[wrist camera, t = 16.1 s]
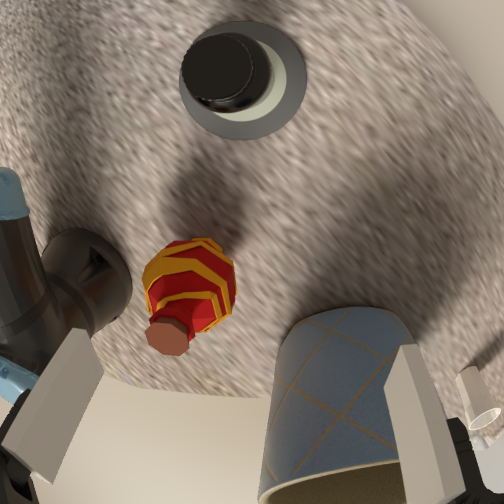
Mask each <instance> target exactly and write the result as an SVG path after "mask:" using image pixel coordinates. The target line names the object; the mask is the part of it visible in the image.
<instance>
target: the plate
mask: <svg viewBox="0 0 504 504" xmlns="http://www.w3.org/2000/svg"><path fill="white" fill-rule="evenodd" d="M226 31H232V32H239V33H242V34H245V35H248V36H250V37H251V38H253V39H255V40H256V41H257V42H258V43H259V44H260V45H261V46H262V47H263V48H264V49H265V51H266V52H267V54H268V56H269V59H270V61H271V63H272V66H273V69H274V74H275V81H274V86H273V89H272V91H271V93H270V94H269V96H268V97H267V98H266V99H265V100H264V101H263V102H262V103H261V104H259V105H257V106H255V107H253V108H250V109H247V110H244V111H240V112H236V113H216V112H212V111H209V110H207V109H205V108H203V107H201V106H200V105H199V104H197V103H196V102H195V101H194V100H193V99H192V98H191V96H190V95H189V93H188V91H187V89H186V87H185V84H184V82H183V77H182V71H181V69H180V76H179V88H180V94H181V97H182V100H183V103H184V105H185V107H186V109H187V111H188V112H189V114H190V115H191V116H192V118H193V119H194V120H195V121H196V122H197V123H198V124H199V125H200V126H202V127H203V128H205V129H206V130H207V131H209V132H211V133H213V134H215V135H218V136H220V137H223V138H228V139H234V140H250V139H256V138H260V137H264V136H266V135H269V134H271V133H273V132H275V131H277V130H278V129H280V128H281V127H283V126H284V125H285V124H286V123H287V122H288V121H289V120H290V119H291V118H292V117H293V116H294V115H295V113H296V112H297V110H298V109H299V107H300V105H301V103H302V101H303V98H304V94H305V90H306V69H305V65H304V62H303V59H302V57H301V55H300V53H299V51H298V49H297V48H296V46H295V45H294V44H293V43H292V42H291V40H290V39H289V38H287V37H286V36H285V35H284V34H283V33H281V32H280V31H278V30H277V29H274V28H272V27H270V26H268V25H265V24H262V23H258V22H253V21H235V22H229V23H225V24H222V25H219V26H217V27H215V28H212V29H211V30H209V31H207V32H206V33H204V34H203V35H202V36H201V37H199V38H198V39H197V40H196V41H195V42H194V43H193V45H194V44H195V43H196V42H197V41H199V40H201V39H202V38H205V37H207V36H209V35H212V34H215V33H218V32H226ZM190 48H191V47H190ZM181 68H182V65H181Z"/></svg>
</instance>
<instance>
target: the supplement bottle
mask: <svg viewBox="0 0 504 504" xmlns="http://www.w3.org/2000/svg"><path fill="white" fill-rule="evenodd" d="M181 71H182V77H183V82H184V84H185V87H186V89H187V91H188V93H189V95H190V96H191V98H192V99H193V100H194V101H195V102H196V103H197V104H199V105H200V106H201V107H203V108H205V109H207V110H209V111H212V112H216V113H236V112H240V111H244V110H247V109H250V108H253V107H255V106H257V105H259V104H261V103H262V102H263V101H264V100H265V99H266V98H267V97H268V96H269V94H270V93H271V91H272V89H273V86H274V81H275V74H274V69H273V66H272V63H271V61H270V59H269V56H268V54H267V52H266V51H265V49H264V48H263V47H262V46H261V45H260V44H259V43H258V42H257V41H256V40H255V39H253V38H251V37H250V36H248V35H245V34H242V33H239V32H232V31H226V32H218V33H215V34H212V35H209V36H207V37H205V38H202V39H201V40H199V41H197V42H196V43H195V44H194V45H192V46H191V48H190V49H189V50H187V53H186V55H185V56H184V60H183V62H182V68H181Z"/></svg>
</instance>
